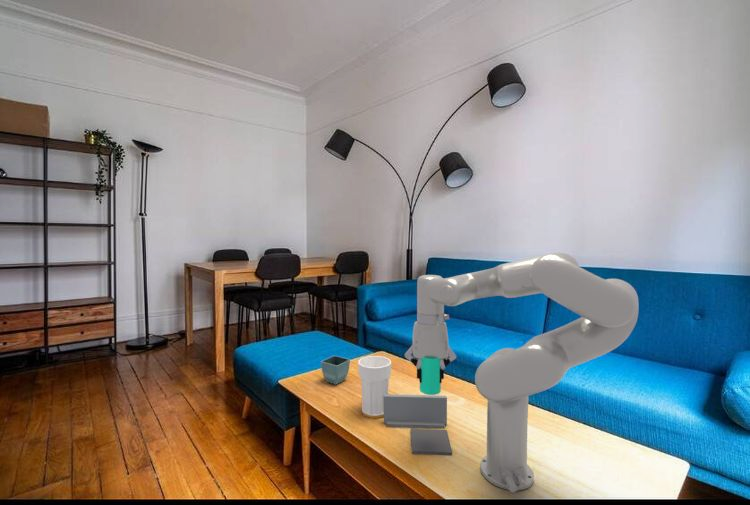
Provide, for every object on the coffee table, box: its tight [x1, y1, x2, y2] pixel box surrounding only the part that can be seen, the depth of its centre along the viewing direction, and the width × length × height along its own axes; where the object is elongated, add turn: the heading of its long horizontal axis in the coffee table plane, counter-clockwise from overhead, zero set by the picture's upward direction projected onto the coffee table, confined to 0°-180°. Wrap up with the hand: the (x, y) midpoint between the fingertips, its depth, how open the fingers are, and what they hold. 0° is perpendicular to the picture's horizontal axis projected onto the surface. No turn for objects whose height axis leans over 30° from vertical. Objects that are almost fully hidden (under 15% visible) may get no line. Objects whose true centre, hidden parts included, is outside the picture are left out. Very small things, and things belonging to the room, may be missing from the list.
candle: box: [419, 357, 442, 395], centre depth 101 cm, size 6×6×12 cm
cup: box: [357, 355, 392, 419], centre depth 119 cm, size 11×11×17 cm
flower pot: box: [320, 355, 351, 385], centre depth 144 cm, size 9×9×9 cm
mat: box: [410, 428, 453, 456], centre depth 102 cm, size 11×11×1 cm
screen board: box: [383, 393, 448, 430], centre depth 112 cm, size 5×20×9 cm, turn 86°
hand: (430, 380), depth 101 cm, fingers closed on candle, 4 cm apart
